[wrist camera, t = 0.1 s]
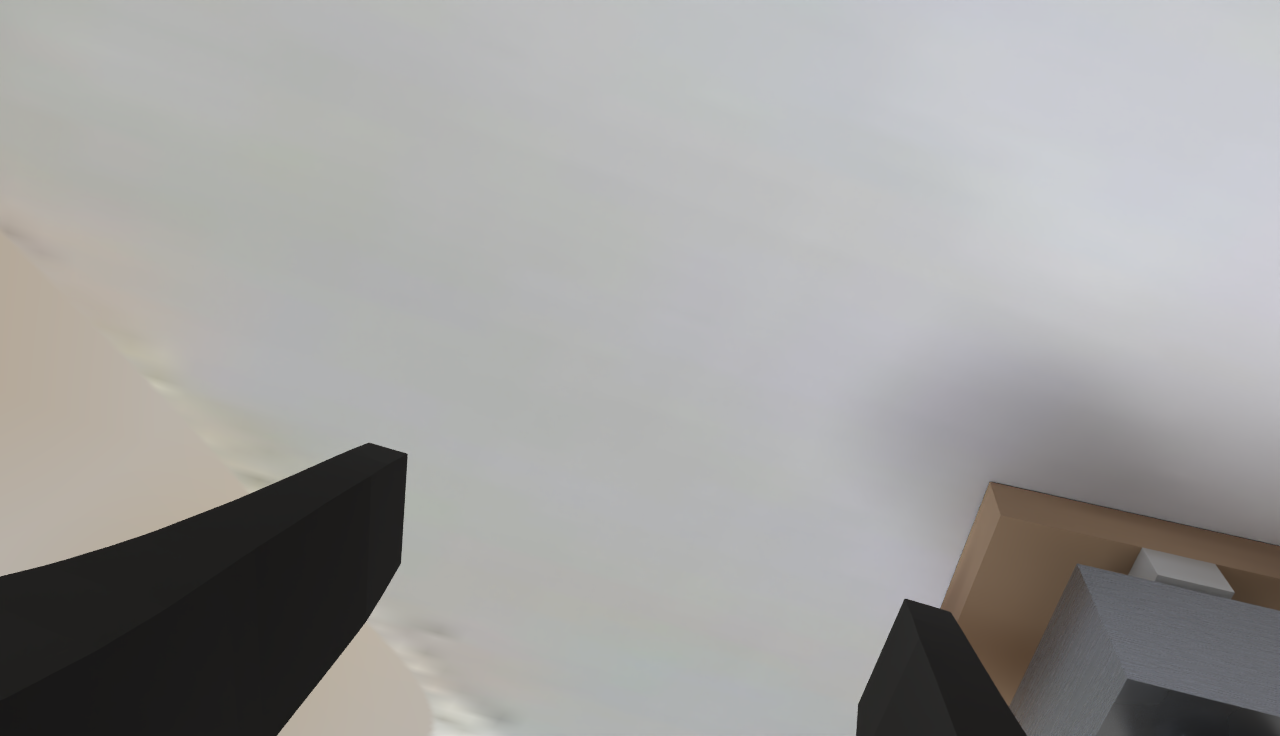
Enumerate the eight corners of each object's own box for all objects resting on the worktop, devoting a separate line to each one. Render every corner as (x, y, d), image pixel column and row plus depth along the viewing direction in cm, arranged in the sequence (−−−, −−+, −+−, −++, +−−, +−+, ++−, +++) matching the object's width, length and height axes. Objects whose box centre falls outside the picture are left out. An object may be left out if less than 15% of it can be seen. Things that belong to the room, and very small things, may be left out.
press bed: (1158, 821, 24) (1192, 906, 21) (886, 747, 25) (891, 820, 22) (1330, 557, 19) (1395, 629, 17) (990, 481, 20) (1009, 539, 18)
